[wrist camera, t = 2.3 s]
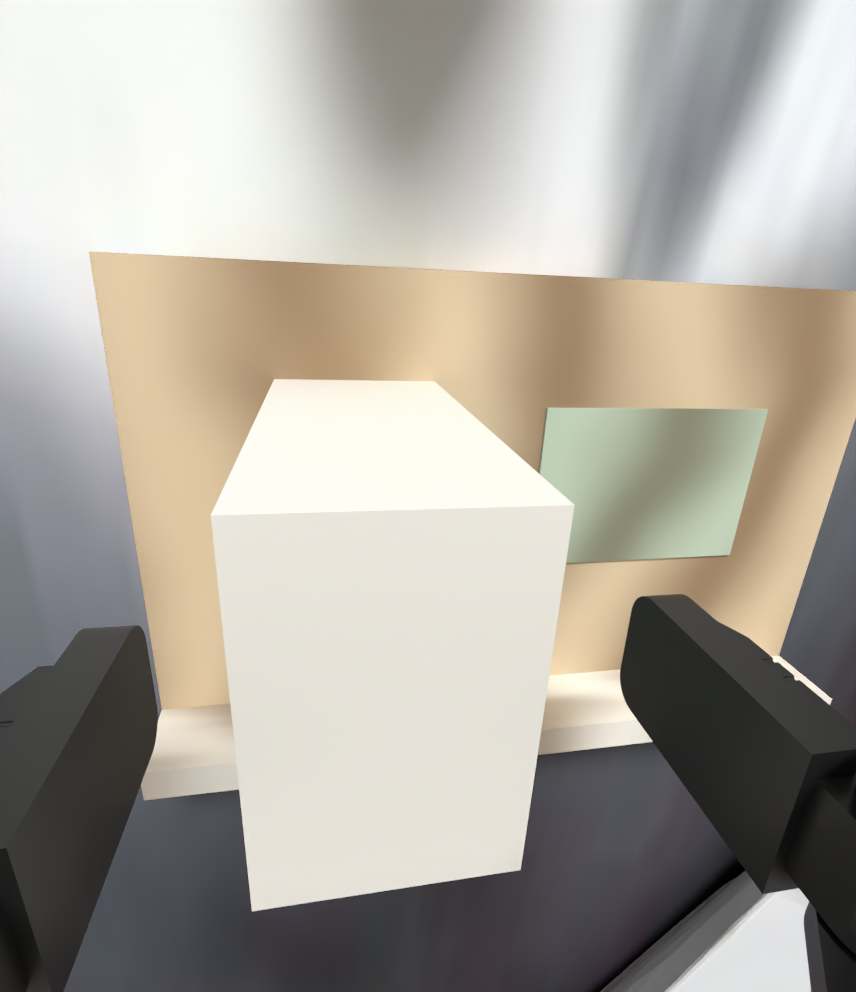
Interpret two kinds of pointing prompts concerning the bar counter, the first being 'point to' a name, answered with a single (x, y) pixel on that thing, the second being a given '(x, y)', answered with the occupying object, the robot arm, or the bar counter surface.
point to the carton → (384, 638)
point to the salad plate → (728, 946)
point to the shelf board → (514, 420)
